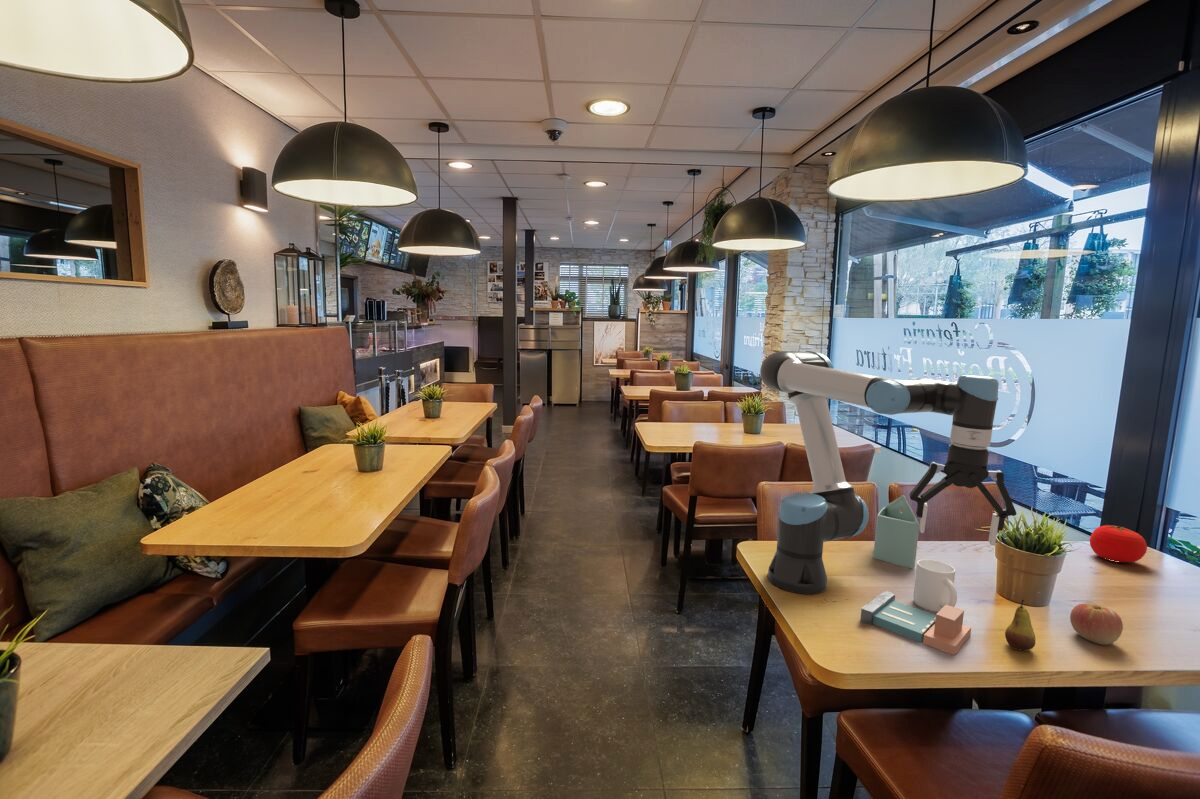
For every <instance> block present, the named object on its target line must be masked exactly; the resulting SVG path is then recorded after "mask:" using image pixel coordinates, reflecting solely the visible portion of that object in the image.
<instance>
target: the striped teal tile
mask: <svg viewBox="0 0 1200 799" xmlns="http://www.w3.org/2000/svg"><path fill="white" fill-rule="evenodd" d="M935 619H936V614H933V613H931V612H928V611H926V610H923V609H920V608H917V607H913V606H910V605H908V604H905V603H902V602H900V601H897V600H895V601H894V600H893V601H891V602H890V603H889V604H888V605H886V606H885V607H884V608H883V609H881V610H880V611H879V612H878V613H876V614H875V615H874V616H873V624H872V625H875V626H878V627H880V628H883V629H885V630H888V631H891V632H893V633H895V634H898V635H900V636H904V637H906V638H909V639H912V640H914V641H916V642H919V643H923V640H924V634H925V633H926V632H927V631H928V630H929V629H930V628H931V627H932V626H933V625H934V624H935Z"/></svg>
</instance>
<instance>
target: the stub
mask: <svg viewBox="0 0 1200 799" xmlns="http://www.w3.org/2000/svg"><path fill="white" fill-rule="evenodd" d="M964 614H965V610H963V609H960V608H957V607H956V606H954V607H952V606H949V605H945V606H944V607H943V608H942V609H941V610H940V611H939V612H936V614H935V615H936V619H935V624H934V625H933V626H932V627H931V628H930V629H929V630H928V631H927V632H926V633H925V634H924V640H923V641H922V644H923V645H927V646H930V647H932V648H934V649H937V650H939V651H942V652H945V653H947V654H950V655H953V656H955V655H956V654H957V652H959V650H960V649H961V647H963V645H964V644H965V643H966V641H967V640H968V639H969V638H970V637H971V631H972V627H971V626H969V625H965V624H963V623H964V616H965V615H964Z"/></svg>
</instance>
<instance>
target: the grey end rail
mask: <svg viewBox="0 0 1200 799" xmlns="http://www.w3.org/2000/svg"><path fill="white" fill-rule="evenodd" d="M893 600H894V601H896V593H893V592H890V591H888V590H884V591H883V592H882V593H880V594H878V595H877V596H876V597H874V599H872V600H871V601H869V602H868V603H867V604H865V605H864V606H863V607H861V612H860V618H859V619H860V620H859V622H861V623H864V624H865V625H869V626H872V625H874V624H873V616H874V615H875V614H876V613H878V612H879V611H880V610H881V609H883V608H884V607H885V606H886V605H888V604H889V603H890V602H891V601H893Z"/></svg>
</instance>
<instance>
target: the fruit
mask: <svg viewBox="0 0 1200 799" xmlns="http://www.w3.org/2000/svg"><path fill="white" fill-rule="evenodd" d="M1020 602H1021V604H1020V605H1019V606H1017V608H1016V610H1015V613H1014V616H1013V619H1012V621H1011V623H1010V624H1009V625H1008V626H1007V627H1006V629H1005V631H1004V637H1005V639H1006V642H1007V643H1008V645H1009V646H1010V647H1011V648H1013V650H1017V651H1018V650H1019V651H1030V650H1032V649H1033V648H1034V647H1035V645H1036V633H1035V631H1034V627H1033V624H1032V621H1031V616H1030V613H1029V612H1028V609H1027V608H1026V607H1025V606H1023V604H1024V602H1025V600H1024V599H1021V601H1020Z"/></svg>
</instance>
